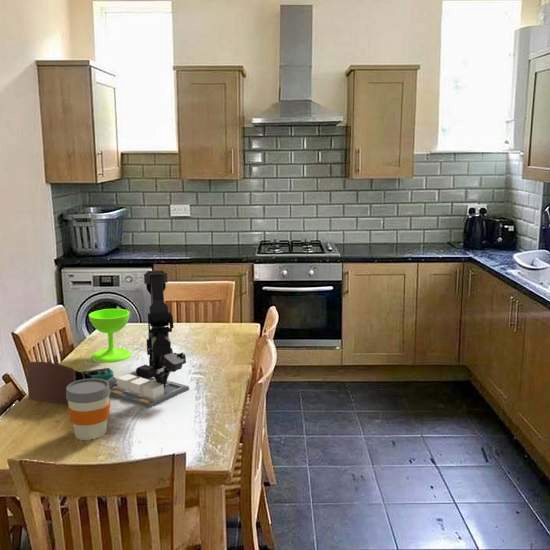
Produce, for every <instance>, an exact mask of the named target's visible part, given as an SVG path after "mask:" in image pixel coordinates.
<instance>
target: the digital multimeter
mask: <svg viewBox="0 0 550 550" xmlns="http://www.w3.org/2000/svg"><path fill="white" fill-rule="evenodd" d="M79 372H83V373H87V374H89V375H91V376H92V377H93V378H95V379H103V380H106V381H107V380H108V379H110V378H111V377H114V371H113V370H112V369H111V368H110V367H105V368H99V369H91V370H82V371H79Z"/></svg>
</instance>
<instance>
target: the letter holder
mask: <svg viewBox="0 0 550 550" xmlns="http://www.w3.org/2000/svg"><path fill="white" fill-rule="evenodd" d="M26 368H27V388H28V390H27V391H28V392H27V393H28V400H33V399H34V401H39V400H40V402H44V401H45V402H46V403H50V404H51V403H52V404H54V405H55V404H56V405H61V406H67V407H68V400H67V399H66V388H67V386H68V385H69V384H71V383H73V382H75V381H78V380H83V379H92V378H93V377H92V376H91V375H89V374H87V373H83V372H80V371H78V370H75V369H74V368H73V367H69V366H66V365H63V364H59V363H56V362H55V363H53V362H48V361H30V362H27V364H26Z"/></svg>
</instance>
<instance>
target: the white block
mask: <svg viewBox="0 0 550 550" xmlns="http://www.w3.org/2000/svg"><path fill="white" fill-rule="evenodd" d="M137 378H138V376H136V375H133V374H130V373H126V374H124V375H122V376H121V375H120V376H119V377H117V378H116V379H117V382H116V383H117V384H116V385H117V387H118V388H120V389H123V390H127V391H128V390H130V382H131V381H134V380H136V379H137Z"/></svg>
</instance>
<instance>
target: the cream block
mask: <svg viewBox="0 0 550 550" xmlns="http://www.w3.org/2000/svg"><path fill="white" fill-rule="evenodd" d="M138 378H139V377H138ZM149 383H150V380H147V379H144V378H139V379H136V380H134V381H131V382H130V392H133V393H136V394H139V395H142V394H143V386H145V385H147V384H149Z"/></svg>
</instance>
